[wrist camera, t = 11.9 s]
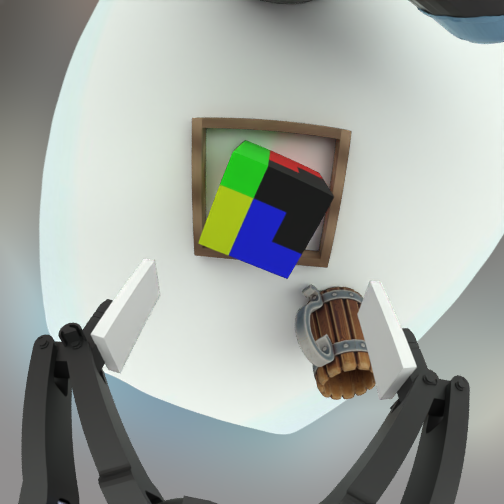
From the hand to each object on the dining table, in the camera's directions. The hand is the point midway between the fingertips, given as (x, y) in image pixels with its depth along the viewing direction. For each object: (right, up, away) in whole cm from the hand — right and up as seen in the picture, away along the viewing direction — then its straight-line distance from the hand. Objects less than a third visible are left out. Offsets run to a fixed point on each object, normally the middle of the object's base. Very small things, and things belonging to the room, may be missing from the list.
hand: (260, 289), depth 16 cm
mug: (+11, -6, +26) cm, 29 cm away
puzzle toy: (+1, +10, +18) cm, 21 cm away
